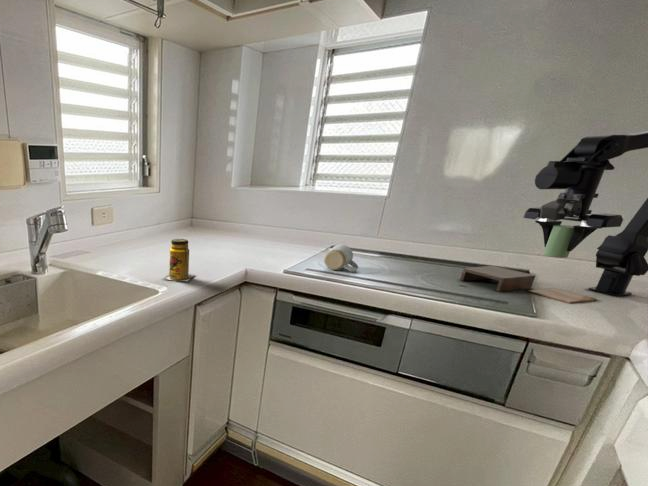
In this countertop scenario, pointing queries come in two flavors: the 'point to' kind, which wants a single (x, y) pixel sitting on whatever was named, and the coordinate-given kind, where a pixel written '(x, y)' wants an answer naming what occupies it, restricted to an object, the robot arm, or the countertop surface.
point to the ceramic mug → (340, 258)
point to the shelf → (499, 277)
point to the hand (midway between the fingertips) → (557, 249)
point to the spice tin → (559, 241)
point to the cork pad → (562, 295)
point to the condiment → (179, 261)
